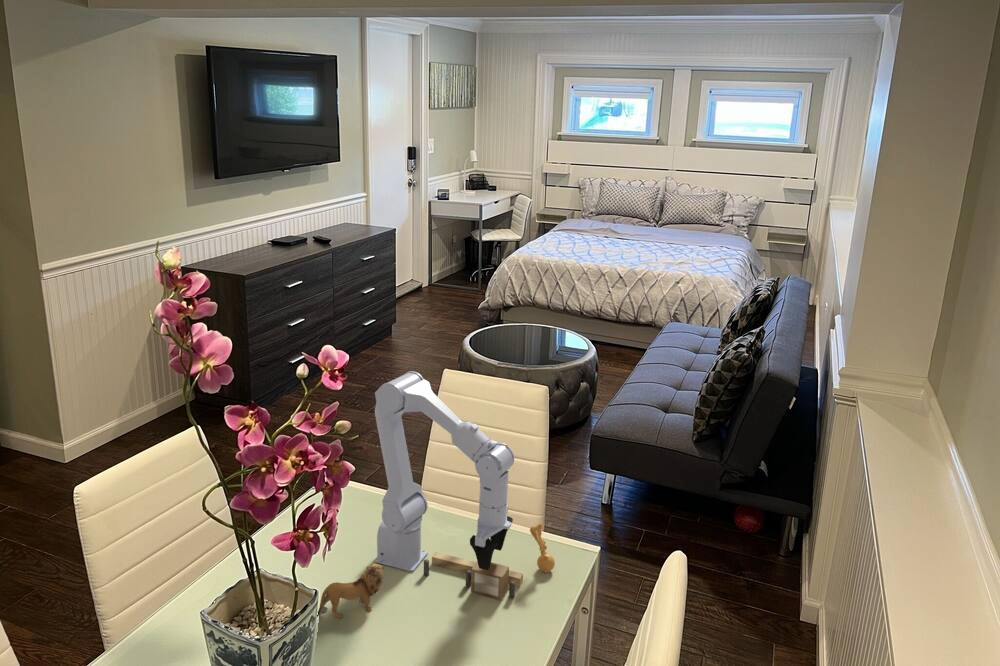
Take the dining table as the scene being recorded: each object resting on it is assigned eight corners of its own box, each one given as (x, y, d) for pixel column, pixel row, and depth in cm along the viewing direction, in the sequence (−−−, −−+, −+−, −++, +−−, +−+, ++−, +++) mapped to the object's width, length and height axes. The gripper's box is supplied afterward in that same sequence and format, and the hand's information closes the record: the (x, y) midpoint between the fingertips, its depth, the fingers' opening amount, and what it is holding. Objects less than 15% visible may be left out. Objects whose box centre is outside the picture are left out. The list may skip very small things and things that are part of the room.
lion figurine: (379, 592, 166) (379, 556, 163) (388, 607, 161) (388, 569, 159) (311, 612, 159) (309, 574, 156) (318, 627, 155) (317, 589, 152)
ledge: (422, 575, 172) (422, 561, 171) (435, 559, 178) (435, 546, 177) (513, 598, 166) (514, 584, 164) (523, 581, 171) (523, 567, 170)
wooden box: (470, 593, 167) (471, 569, 165) (478, 582, 171) (478, 559, 169) (501, 601, 165) (502, 577, 163) (507, 590, 168) (509, 566, 166)
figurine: (557, 581, 172) (560, 533, 168) (530, 582, 171) (533, 534, 168) (550, 559, 180) (554, 513, 176) (525, 560, 179) (527, 514, 176)
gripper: (499, 523, 153) (496, 582, 157) (522, 489, 166) (519, 544, 170) (466, 515, 155) (464, 573, 160) (491, 482, 168) (489, 537, 173)
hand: (490, 558), depth 165 cm, fingers open, 7 cm apart
